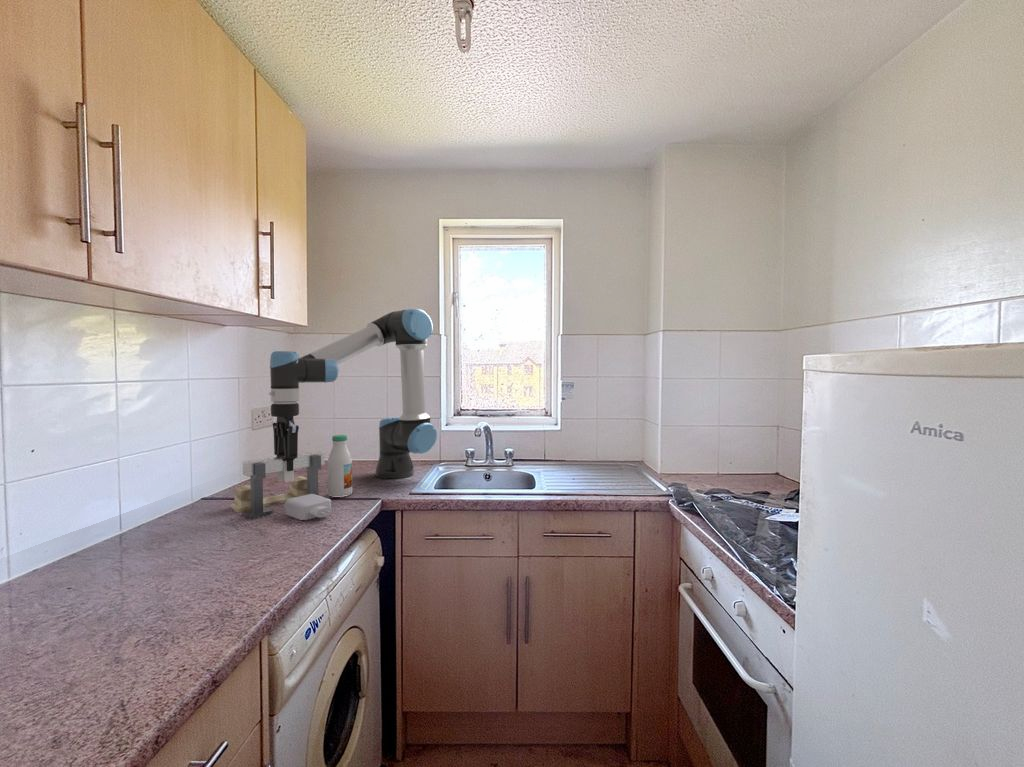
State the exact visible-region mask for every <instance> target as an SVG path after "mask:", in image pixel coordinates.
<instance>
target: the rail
mask: <svg viewBox="0 0 1024 767" xmlns="http://www.w3.org/2000/svg"><path fill="white" fill-rule="evenodd" d="M317 455H321V466H323V465H325V461H326V460H325V452H322V451H313V452H305V453H299V454H297V458H295V459H294V470H295V469H296V470H297V469H303V468H305V467H310V466H312V456H317ZM282 459H285V456H282V457H277V456H276V457H268V458H267V457H266V458H261V459H253V460H247V461H242V475H243V476H245V477H249V476H253V475H255V464H260V463H265V474H271V473H278V471H283V461H282Z"/></svg>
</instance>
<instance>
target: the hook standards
mask: <svg viewBox="0 0 1024 767" xmlns="http://www.w3.org/2000/svg"><path fill="white" fill-rule="evenodd" d="M304 468H305V469H306V478H307V494H315V495H318V496H320V495H319V470H322V465H321V455H317V456H312V466H310V467H304ZM266 474H267V473H265V463H260V464H255V475H253V476H248V477H249V478H250V486H251V509H249V510H244V511H242V512H241V516H242V517H244V516H245V517H244V518H246V519H247V518H248V519H247V520H249V519H251V520H253V519H254V518H255V519H259V518H258V517H260V518H263V517H262V516H264V517H268V516H267V515H269V516H272V515H273V510H272V509H270V508H268V506H267V507H265V506H264V507H263V498H264V481H263V480H264V479H266ZM271 514H272V515H271ZM255 519H254V520H255Z"/></svg>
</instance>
